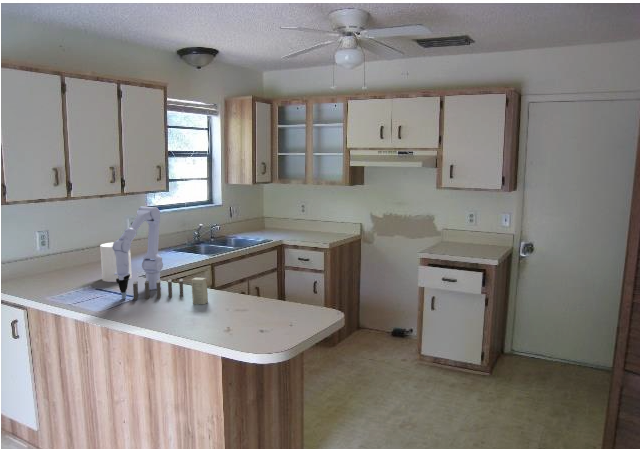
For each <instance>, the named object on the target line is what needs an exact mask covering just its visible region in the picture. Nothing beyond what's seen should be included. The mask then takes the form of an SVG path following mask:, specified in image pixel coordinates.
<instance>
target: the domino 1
mask: <svg viewBox="0 0 640 449" xmlns="http://www.w3.org/2000/svg"><path fill="white" fill-rule="evenodd" d="M127 297H128V296H127V291H126V292H124V293H121V299H123V300H125V299H126V298H127Z"/></svg>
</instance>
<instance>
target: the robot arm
mask: <svg viewBox="0 0 640 449" xmlns="http://www.w3.org/2000/svg"><path fill="white" fill-rule="evenodd" d="M160 221H161V211H160V209H159V208H158V207H157V206H143V205H141V206H139V207H138V209H137V211H136V216H135V218H134V219H133V222H132V223H131V224H130V227H127V228H125V229H124V231H123V233H122V234H121V235H120V237H119V238H118V239H116V240H115V241H114V243H113V246H112V248H113V250H114V252H115V255H116V269H117V273H114V275H117V276H118V279H116V283H117V285H118V288H119V291H120V293H121V294H122V293H124V292H126V293H127V289H128V285H129V280H130V279H129V277H130V272H129V261H128V251H129V250H130V251H131V248H132V246H131V245H132V243H133V240H134V239H135V237H136V236H137V231H138V229H139V228H140V227H141V226H142V225H143V224H144V223H145V222H146V223H147V224H148V235H147V237H148V238H147V253H146V254H145V255H144V256H143V259H142V263H141V267H142V268H141V269H142V270H143V273H145V281H149V291H150V290H151V291H153V290H157V285H156V282H157V280H160V281H161V271H162V270H163V267H164V263H163V257H162V256H161V255H160V254H159V241H160V240H159V239H160V238H159V237H160ZM162 286H163V285H162V283H161V287H162Z"/></svg>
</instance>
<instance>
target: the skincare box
mask: <svg viewBox="0 0 640 449" xmlns="http://www.w3.org/2000/svg"><path fill="white" fill-rule="evenodd" d="M207 279H208V278H207V277H194V278H191V294H192V304H194V305H206V304H207V303H209V298H208V297H209V295H208V281H207Z"/></svg>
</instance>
